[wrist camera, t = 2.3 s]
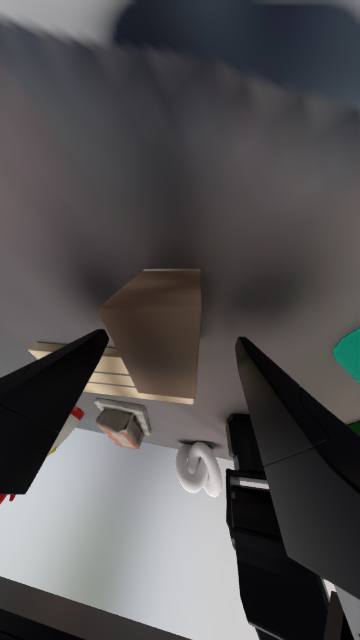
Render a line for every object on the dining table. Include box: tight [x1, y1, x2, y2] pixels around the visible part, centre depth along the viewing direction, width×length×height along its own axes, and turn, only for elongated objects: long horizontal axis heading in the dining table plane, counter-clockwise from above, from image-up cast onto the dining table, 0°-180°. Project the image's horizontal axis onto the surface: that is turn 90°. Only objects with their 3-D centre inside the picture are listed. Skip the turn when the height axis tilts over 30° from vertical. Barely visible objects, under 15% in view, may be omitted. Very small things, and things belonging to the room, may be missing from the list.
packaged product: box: [94, 398, 151, 449], centre depth 29 cm, size 18×5×10 cm
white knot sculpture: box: [176, 442, 222, 497], centre depth 35 cm, size 11×12×9 cm
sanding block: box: [97, 269, 201, 399], centre depth 9 cm, size 4×7×6 cm, turn 2°
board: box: [28, 343, 193, 404], centre depth 18 cm, size 20×10×1 cm, turn 92°
